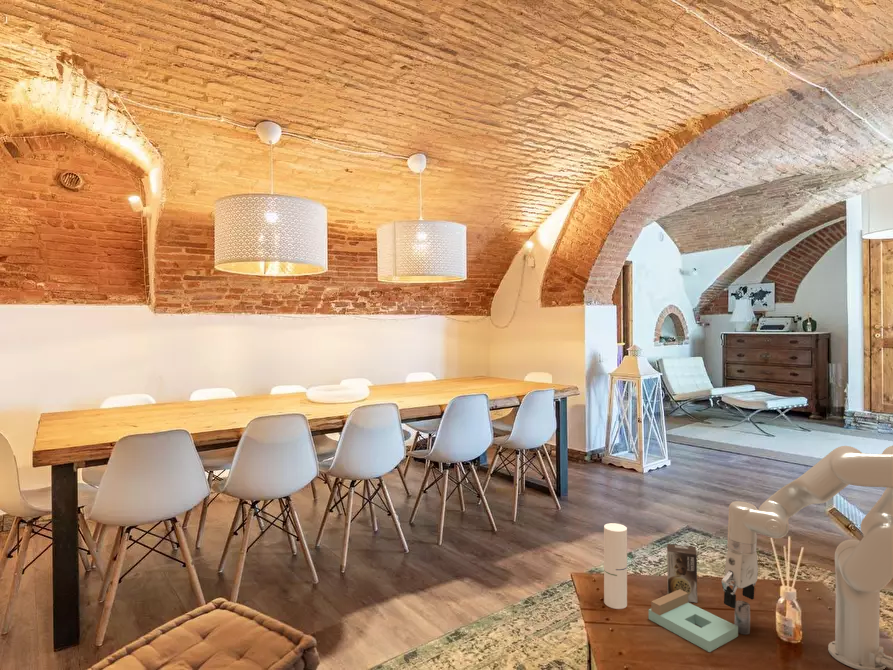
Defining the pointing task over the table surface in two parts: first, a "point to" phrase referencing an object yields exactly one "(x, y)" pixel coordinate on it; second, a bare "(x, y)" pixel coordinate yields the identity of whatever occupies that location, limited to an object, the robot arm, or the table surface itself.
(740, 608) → the grey upright block
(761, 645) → the table surface
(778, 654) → the table surface
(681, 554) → the coffee box
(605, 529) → the cylindrical container
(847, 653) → the robot arm
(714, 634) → the jig
